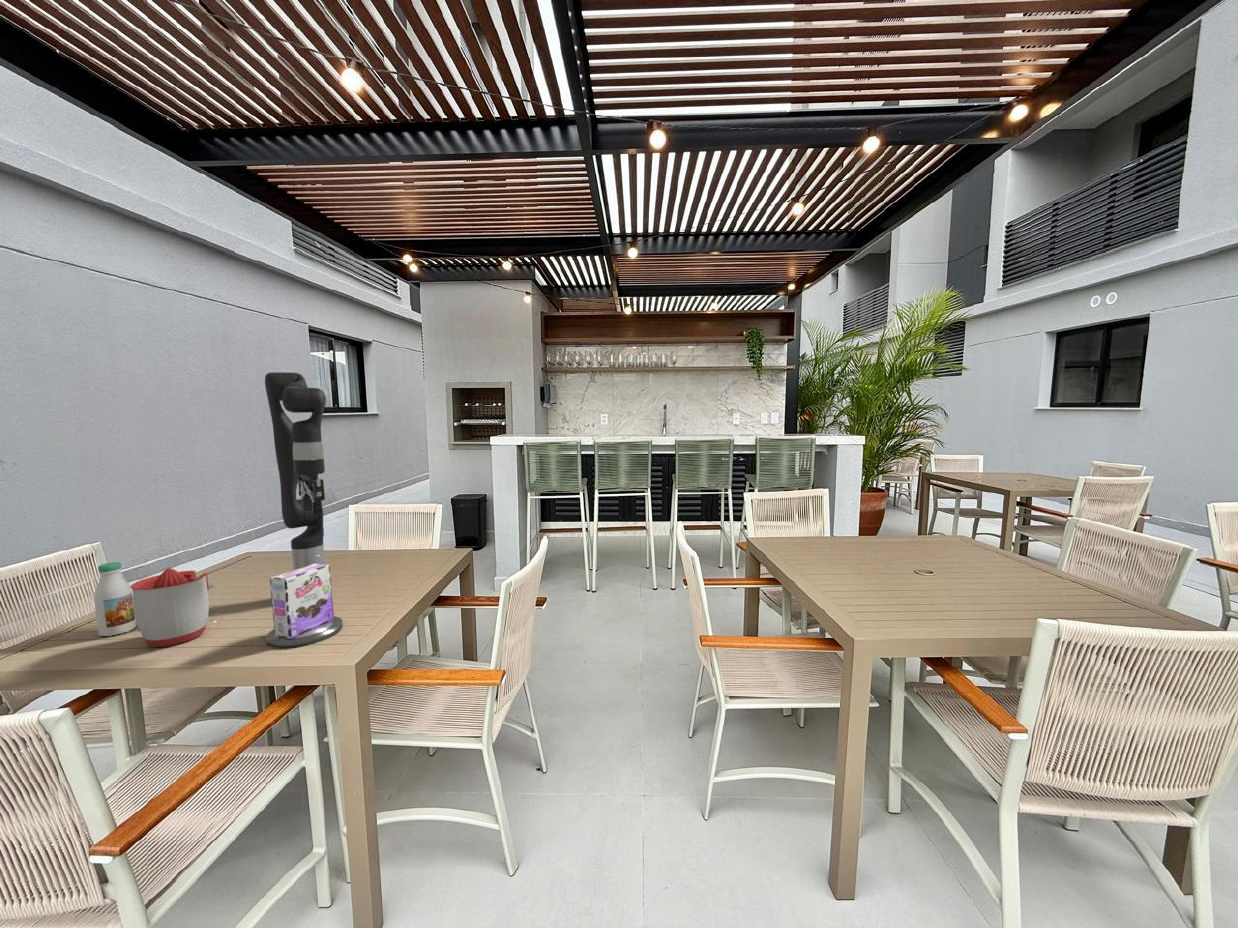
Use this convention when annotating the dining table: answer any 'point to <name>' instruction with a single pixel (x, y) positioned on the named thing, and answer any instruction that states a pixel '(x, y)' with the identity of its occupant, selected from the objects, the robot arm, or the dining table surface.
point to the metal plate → (306, 635)
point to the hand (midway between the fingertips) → (312, 512)
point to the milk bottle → (113, 601)
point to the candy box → (301, 600)
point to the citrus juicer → (171, 607)
